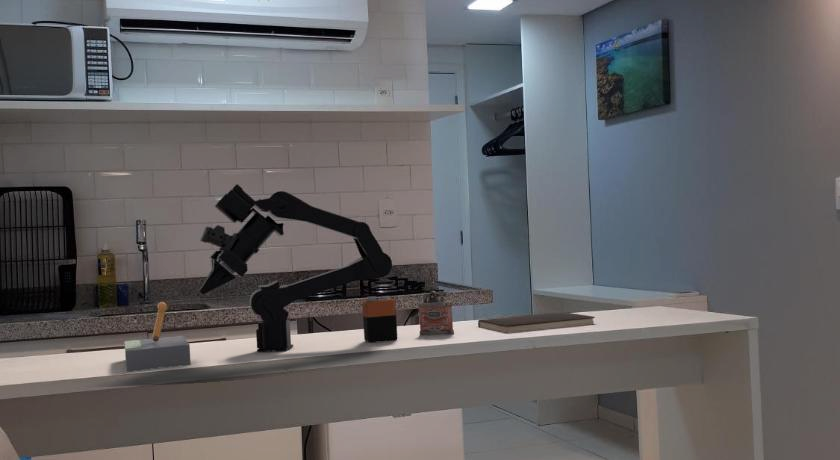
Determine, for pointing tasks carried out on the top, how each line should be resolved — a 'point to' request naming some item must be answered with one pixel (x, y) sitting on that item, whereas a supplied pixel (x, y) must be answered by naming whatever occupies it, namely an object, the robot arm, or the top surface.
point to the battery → (379, 319)
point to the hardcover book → (535, 322)
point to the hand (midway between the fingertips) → (201, 293)
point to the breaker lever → (159, 321)
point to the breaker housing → (156, 353)
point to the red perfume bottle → (435, 314)
